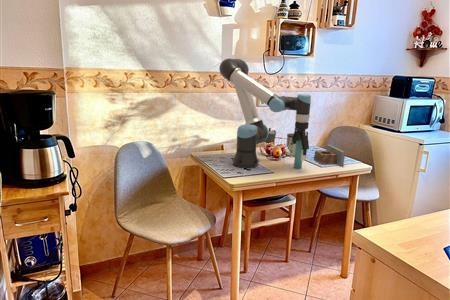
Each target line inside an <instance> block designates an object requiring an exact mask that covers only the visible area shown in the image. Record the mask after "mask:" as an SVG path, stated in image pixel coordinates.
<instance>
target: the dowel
mask: <svg viewBox="0 0 450 300" xmlns="http://www.w3.org/2000/svg"><path fill="white" fill-rule="evenodd" d="M301 153H302V143H301V141H296V149H295V157H294V163H293V168H294V169H297V170H301V169H302V168H303V161H301Z"/></svg>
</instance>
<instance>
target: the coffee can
mask: <svg viewBox="0 0 450 300" xmlns="http://www.w3.org/2000/svg"><path fill="white" fill-rule="evenodd" d="M293 134H294V132H293V133H287V135H286V146H287V147H288V149H289V151H290V153H289V156H288V157H291V158H295V154H292V151H293V142H292V138H293ZM298 141H301V139H299V140H298Z"/></svg>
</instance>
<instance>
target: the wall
mask: <svg viewBox="0 0 450 300" xmlns="http://www.w3.org/2000/svg"><path fill="white" fill-rule="evenodd" d="M325 151H331V152H333V153H335V154H336V155H337V159H336V164H335V165H337V166H339V167H344V166H345V165H344V163H345V158H346V157H345V156H346V151H344V150H342V149H341V148H340V149H339V148H338V147H336V146H333V145H332V144H326V149H325Z"/></svg>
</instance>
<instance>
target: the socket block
mask: <svg viewBox="0 0 450 300" xmlns="http://www.w3.org/2000/svg"><path fill="white" fill-rule="evenodd" d="M313 158H314V159H313V160H314V161H315V162H317V163H318V162H319V163H318V164H320V165H337V164H336V159H337V155H336V154H335V153H333V152H331V151H326V150H315V151H314V157H313Z"/></svg>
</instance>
